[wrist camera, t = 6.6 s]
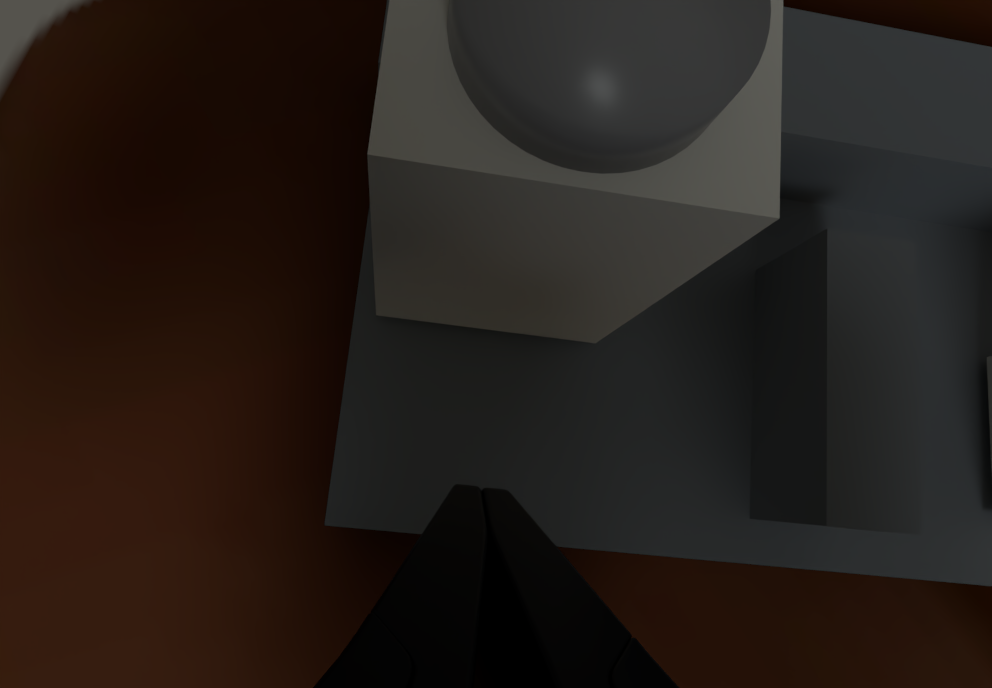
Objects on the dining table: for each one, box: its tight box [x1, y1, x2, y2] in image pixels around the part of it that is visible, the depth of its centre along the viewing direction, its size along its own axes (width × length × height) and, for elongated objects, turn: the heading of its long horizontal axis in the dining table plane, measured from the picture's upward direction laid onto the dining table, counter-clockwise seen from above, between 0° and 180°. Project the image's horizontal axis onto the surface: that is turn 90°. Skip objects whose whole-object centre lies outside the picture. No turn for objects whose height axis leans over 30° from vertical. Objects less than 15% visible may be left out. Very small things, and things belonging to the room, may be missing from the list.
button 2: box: [367, 0, 783, 343], centre depth 12 cm, size 4×5×9 cm
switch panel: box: [324, 0, 992, 586], centre depth 17 cm, size 12×21×5 cm, turn 84°
